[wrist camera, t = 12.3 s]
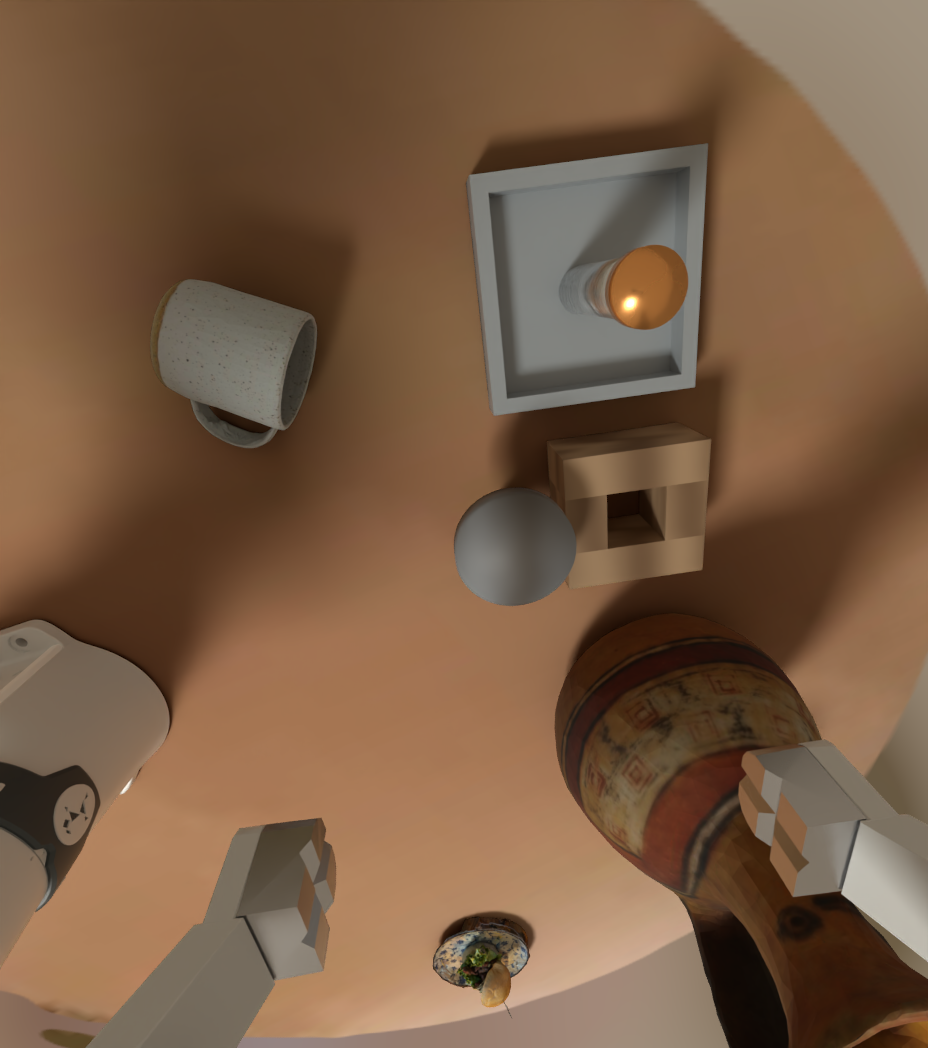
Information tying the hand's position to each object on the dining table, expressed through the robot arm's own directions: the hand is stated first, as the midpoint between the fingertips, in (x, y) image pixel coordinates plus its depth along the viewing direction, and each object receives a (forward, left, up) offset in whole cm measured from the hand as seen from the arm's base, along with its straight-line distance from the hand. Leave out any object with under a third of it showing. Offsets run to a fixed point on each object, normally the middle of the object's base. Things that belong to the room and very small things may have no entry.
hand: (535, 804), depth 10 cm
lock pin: (+10, +8, -30) cm, 33 cm away
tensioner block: (+8, -7, -31) cm, 33 cm away
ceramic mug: (-13, +6, -31) cm, 34 cm away
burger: (-5, -64, -32) cm, 72 cm away
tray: (+10, +8, -31) cm, 34 cm away
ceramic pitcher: (+15, -27, -31) cm, 44 cm away
